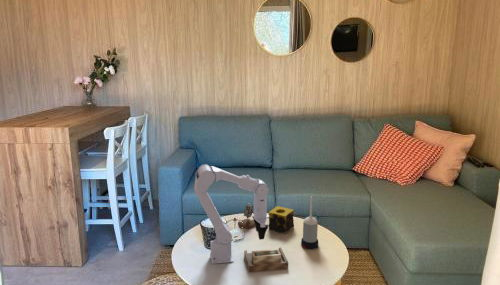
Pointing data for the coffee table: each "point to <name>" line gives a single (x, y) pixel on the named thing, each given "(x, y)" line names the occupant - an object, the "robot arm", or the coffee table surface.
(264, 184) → the robot arm
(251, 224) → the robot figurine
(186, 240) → the coffee table surface
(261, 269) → the wooden tray
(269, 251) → the tumbler tray
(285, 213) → the candle
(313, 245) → the humidifier
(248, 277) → the coffee table surface
